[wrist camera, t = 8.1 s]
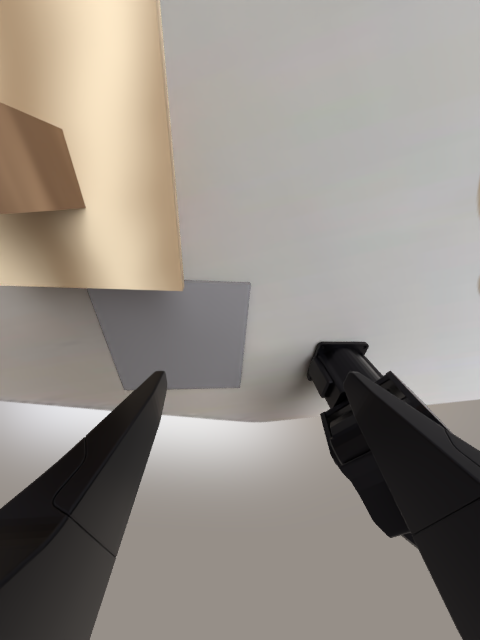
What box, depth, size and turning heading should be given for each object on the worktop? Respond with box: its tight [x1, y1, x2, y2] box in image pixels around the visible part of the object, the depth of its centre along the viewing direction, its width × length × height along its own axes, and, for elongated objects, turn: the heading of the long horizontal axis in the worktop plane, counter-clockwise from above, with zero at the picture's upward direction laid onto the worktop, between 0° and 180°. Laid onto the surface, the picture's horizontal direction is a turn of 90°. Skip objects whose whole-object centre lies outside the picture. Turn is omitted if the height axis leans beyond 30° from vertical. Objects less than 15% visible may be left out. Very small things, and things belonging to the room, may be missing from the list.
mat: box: [87, 280, 251, 390], centre depth 22 cm, size 15×15×1 cm
